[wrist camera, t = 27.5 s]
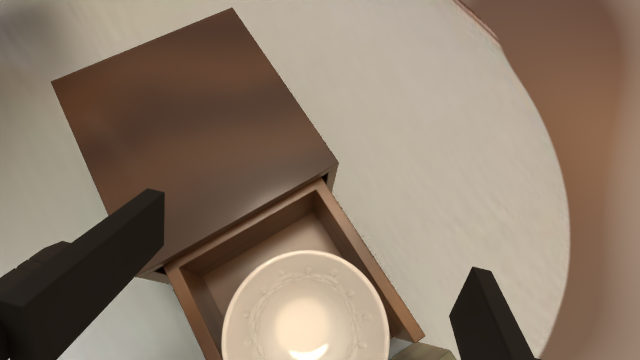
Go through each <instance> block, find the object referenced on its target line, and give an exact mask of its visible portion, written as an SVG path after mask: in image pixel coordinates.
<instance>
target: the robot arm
mask: <svg viewBox="0 0 640 360" xmlns="http://www.w3.org/2000/svg"><path fill="white" fill-rule="evenodd" d="M164 215H165V192H162V191H158V190H153V189H149V188H147V189H145V190H144V191H143V192H141V193H140V194H139V195H137V196H136V197H134V198H133V199H132V200H130V201H129V202H127V203H126V204H125V205H123V206H122V207H121V208H119V209H118V210H116V211H115V212H114V213H112V214H111V215H110V216H108V217H107V218H105V219H104V220H103V221H101V222H100V223H98V224H97V225H96V226H94V227H93V228H92V229H90V230H89V231H87V232H86V233H85V234H83V235H82V236H81V237H79V238H78V239H76V240H75V241H74V242H72V243H68V242H64V241H61V242H59V243H56V244H54V245H51V246H48V247H46V248H44V249H42V250H41V251H39V252H38V253H36V254H35V255H33V256H32V257H30V259H29V260H26V261H25V262H23V263H22V264H20V265H19V266H18V267H17V268H16V269H15V268H14V269H13V270H11V271H10V272H8V273H7V274H5V275H4V276H2V277H1V278H0V360H8V359H9V358H10V360H57V359H58V357H59V356H60V355H61V354H62V353H63V352H64V351H65V350H66V349H67V348H68V347H69V346H70V345H71V344H72V343H73V342H74V341H75V339H76V338H77V337H78V336H79V335H80V334H81V333H82V332H83V331H84V330H85V329H86V328H87V327H88V326H89V325H90V324H91V322H92V321H93V320H94V319H95V318H96V317H97V316H98V315H99V314H100V313H101V312H102V311H103V310H104V309H105V308H106V307H107V305H108V304H109V303H110V302H111V301H112V300H113V299H114V298H115V297H116V296H117V295H118V294H119V293H120V292H121V291H122V290H123V288H124V287H125V286H126V285H127V284H128V283H129V282H130V281H131V280H132V279H133V278H134V277H135V276H136V275H137V274H138V273H139V271H140V270H141V269H142V268H143V267H144V266H145V265H146V264H147V263H148V262H149V261H150V260H151V259H152V258H153V257H154V256H155V254H156V253H157V252H158V251H159V250H160V249H161V248H162V247H163V246H164ZM449 317H450V321H451V325H452V328H453V332H454V336H455V339H456V343H457V346H458V350H459V354H460V357H461V360H541V359H537V358H534V356H533V354H532V352H531V350H530V348H529V346H528V344H527V342H526V340H525V338H524V336H523V334H522V332H521V330H520V328H519V326H518V324H517V322H516V320H515V318H514V316H513V314H512V312H511V310H510V308H509V306H508V304H507V302H506V300H505V298H504V296H503V294H502V292H501V290H500V288H499V286H498V284H497V282H496V280H495V278H494V276H493V274H492V272H491V271H489V270H484V269H480V268H476V267H472V269H471V271H470V273H469V275H468V277H467V279H466V281H465V283H464V286H463V288H462V290H461V292H460V294H459V296H458V298H457V300H456V302H455V304H454V307H453V309H452V311H451V313H450V315H449Z"/></svg>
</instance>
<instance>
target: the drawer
mask: <svg viewBox="0 0 640 360" xmlns="http://www.w3.org/2000/svg"><path fill="white" fill-rule="evenodd" d="M297 250H317V251H323V252H327V253H330V254H333V255H336V256H338V257H340V258H342V259H344V260H346V261H348V262H349V263H351V264H352V265H354V266H355V267H356V268H357V269H359V270H360V271H361V272H362V273H363V274H364V275H365V276H366V277H367V279H368V280H369V281H370V282H371V284H372V285H373V286H374V288H375V290H376V291H377V293H378V295H379V297H380V299H381V301H382V303H383V306H384V309H385V312H386V316H387V320H388V326H389V336H390V339H391V338H393V337H394V338H398V339H402V340H405V341H409V342H413V343H412V344H411V345H409V346H408V347H407V348H405V349H404V350H403V351H401V352H400V353H399V354H397V355H396V356H395V357H393V358H392V359H390V360H456V358H455V357H454V355H453V354H452V352H451V351H450V350H447V349H443V348H439V347H436V346H432V345H428V344H424V343H420V342H418V341H419V340H421V339H422V338H423V337H425V334H424V333H423V331H422V330H421V328H420V327H419V325H418V324H417V322H416V320H415V319H414V317H413V316H412V314H411V313H410V311H409V310H408V308H407V307H406V305H405V304H404V302H403V301H402V299H401V298H400V296H399V295H398V293H397V292H396V290H395V289H394V287H393V286H392V284H391V283H390V281H389V280H388V278H387V276H386V275H385V273H384V272H383V270H382V269H381V267H380V266H379V264H378V263H377V261H376V260H375V258H374V257H373V255H372V254H371V252H370V251H369V249H368V248H367V246H366V245H365V243H364V242H363V240H362V239H361V237H360V236H359V234H358V232H357V231H356V229H355V228H354V226H353V225H352V223H351V222H350V220H349V219H348V217H347V216H346V214H345V213H344V211H343V210H342V208H341V207H340V205H339V204H338V202H337V201H336V199H335V198H334V196H333V195H332V193H331V192H330V190H329V188H328V187H327V185H326V184H325V182H324V181H323V179H322V178H321V177H320V178H318V179H316V180H314V181H313V182H311V183H309V184H307V185H305V186H304V187H302V188H300V189H298V190H297V191H295V192H293V193H291V194H289V195H288V196H286V197H284V198H282V199H281V200H279V201H277V202H275V203H273V204H272V205H270V206H268V207H266V208H265V209H263V210H261V211H259V212H257V213H256V214H254V215H252V216H250V217H249V218H247V219H245V220H243V221H242V222H240V223H238V224H236V225H234V226H233V227H231V228H229V229H227V230H226V231H224V232H222V233H220V234H218V235H217V236H215V237H213V238H211V239H210V240H208V241H206V242H204V243H202V244H201V245H199V246H197V247H195V248H194V249H192V250H190V251H188V252H186V253H185V254H183V255H181V256H179V257H178V258H176V259H174V260H172V261H171V262H169V263H167V264H165V265H163V267H164V270H165V272H166V274H167V276H168V278H169V280H170V282H171V285H172V287H173V289H174V291H175V293H176V295H177V298H178V300H179V302H180V304H181V306H182V308H183V311H184V313H185V315H186V317H187V319H188V322H189V324H190V326H191V328H192V330H193V332H194V335H195V337H196V339H197V341H198V343H199V345H200V348H201V350H202V352H203V354H204V356H205V358H206V360H223V357H222V329H223V323H224V319H225V315H226V312H227V309H228V307H229V304H230V302H231V300H232V298H233V296H234V294H235V292H236V291H237V289H238V288H239V286H240V285H241V284H242V282H243V281H244V280H245V279H246V278H247V276H248V275H249V274H250V273H251V272H253V271H254V270H255V269H256V268H257V267H259V266H260V265H261V264H263V263H264V262H266V261H268V260H269V259H271V258H273V257H276V256H278V255H281V254H284V253H287V252H291V251H297Z"/></svg>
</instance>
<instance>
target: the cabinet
mask: <svg viewBox="0 0 640 360" xmlns="http://www.w3.org/2000/svg"><path fill="white" fill-rule="evenodd" d="M51 83H52V86H53V88H54V90H55V92H56V95H57V97H58V99H59V102H60V104H61V106H62V109H63V111H64V113H65V116H66V118H67V120H68V123H69V125H70V127H71V130H72V132H73V134H74V137H75V139H76V141H77V143H78V146H79V148H80V150H81V153H82V155H83V157H84V160H85V162H86V164H87V167H88V169H89V171H90V174H91V176H92V178H93V181H94V183H95V185H96V188H97V190H98V192H99V195H100V197H101V199H102V201H103V204H104V206H105V208H106V211H107V213H108V215H109V216H110V215H111V214H112V213H114V212H115V211H116V210H118V209H119V208H121V207H122V206H123V205H125V204H126V203H127V202H129V201H130V200H132V199H133V198H134V197H136V196H137V195H139V194H140V193H141V192H143V191H144V190H145V189H147V188H149V189H153V190H158V191H162V192H165V215H164V246H163V247H162V248H161V249H160V250H159V251H158V252H157V253H156V254H155V256H154V257H153V258H152V259H151V260H150V261H149V262H148V263H147V264H146V265H145V266H144V267H143V268H142V269H141V270H140V271H139V273H138V274H137V275H136V276H135V277H138V278H143V279H148V280H153V281H157V282H162V283H167V284H171V282H170V280H169V278H168V276H167V274H166V272H165V270H164V267H163V265H165V264H167V263H169V262H171V261H172V260H174V259H176V258H178V257H179V256H181V255H183V254H185V253H186V252H188V251H190V250H192V249H194V248H195V247H197V246H199V245H201V244H202V243H204V242H206V241H208V240H210V239H211V238H213V237H215V236H217V235H218V234H220V233H222V232H224V231H226V230H227V229H229V228H231V227H233V226H234V225H236V224H238V223H240V222H242V221H243V220H245V219H247V218H249V217H250V216H252V215H254V214H256V213H257V212H259V211H261V210H263V209H265V208H266V207H268V206H270V205H272V204H273V203H275V202H277V201H279V200H281V199H282V198H284V197H286V196H288V195H289V194H291V193H293V192H295V191H297V190H298V189H300V188H302V187H304V186H305V185H307V184H309V183H311V182H313V181H314V180H316V179H318V178H320V177H321V178H322V179H323V181H324V182H325V184H326V185H327V187H328V188H329V190H330V192H331V193H332V189H333V185H334V181H335V176H336V172H337V168H338V164H339V162H338V161H337V159H336V158H335V156H334V155H333V153H332V152H331V151H330V149H329V148H328V146H327V145H326V143H325V142H324V140H323V139H322V137H321V136H320V134H319V133H318V132H317V130H316V129H315V127H314V126H313V124H312V123H311V121H310V120H309V118H308V117H307V116H306V114H305V113H304V111H303V110H302V108H301V107H300V105H299V104H298V102H297V101H296V100H295V98H294V97H293V95H292V94H291V92H290V91H289V89H288V88H287V86H286V85H285V84H284V82H283V81H282V79H281V78H280V76H279V75H278V73H277V72H276V70H275V69H274V68H273V66H272V65H271V63H270V62H269V60H268V59H267V57H266V56H265V54H264V53H263V51H262V50H261V49H260V47H259V46H258V44H257V43H256V41H255V40H254V38H253V37H252V35H251V34H250V33H249V31H248V30H247V28H246V27H245V25H244V24H243V22H242V21H241V19H240V18H239V17H238V15H237V14H236V12H235V11H234V9H233V8H230V9H227V10H225V11H222V12H220V13H217V14H215V15H212V16H210V17H208V18H205V19H203V20H200V21H198V22H195V23H193V24H191V25H188V26H186V27H183V28H181V29H178V30H176V31H173V32H171V33H169V34H166V35H164V36H161V37H159V38H156V39H154V40H151V41H149V42H147V43H144V44H142V45H139V46H137V47H134V48H132V49H130V50H127V51H125V52H122V53H120V54H117V55H115V56H112V57H110V58H108V59H105V60H103V61H100V62H98V63H95V64H93V65H90V66H88V67H86V68H83V69H81V70H78V71H76V72H73V73H71V74H68V75H66V76H64V77H61V78H59V79H56V80H54V81H51Z"/></svg>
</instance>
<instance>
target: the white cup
mask: <svg viewBox="0 0 640 360" xmlns="http://www.w3.org/2000/svg"><path fill="white" fill-rule="evenodd" d="M389 345H390V336H389V326H388V320H387V316H386V312H385V309H384V306H383V303H382V301H381V299H380V297H379V295H378V293H377V291H376V290H375V288H374V286H373V285H372V284H371V282H370V281H369V280H368V279H367V277H366V276H365V275H364V274H363V273H362V272H361V271H360V270H359V269H357V268H356V267H355V266H354V265H352V264H351V263H349V262H348V261H346V260H344V259H342V258H340V257H338V256H336V255H333V254H330V253H327V252H323V251H317V250H297V251H291V252H287V253H284V254H281V255H278V256H276V257H273V258H271V259H269V260H268V261H266V262H264V263H263V264H261V265H260V266H259V267H257V268H256V269H255V270H254V271H253V272H251V273H250V274H249V275H248V276H247V278H246V279H245V280H244V281H243V282H242V284H241V285H240V286H239V288H238V289H237V291H236V292H235V294H234V296H233V298H232V300H231V302H230V304H229V307H228V309H227V312H226V315H225V319H224V323H223V329H222V357H223V360H388V355H389Z"/></svg>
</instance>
